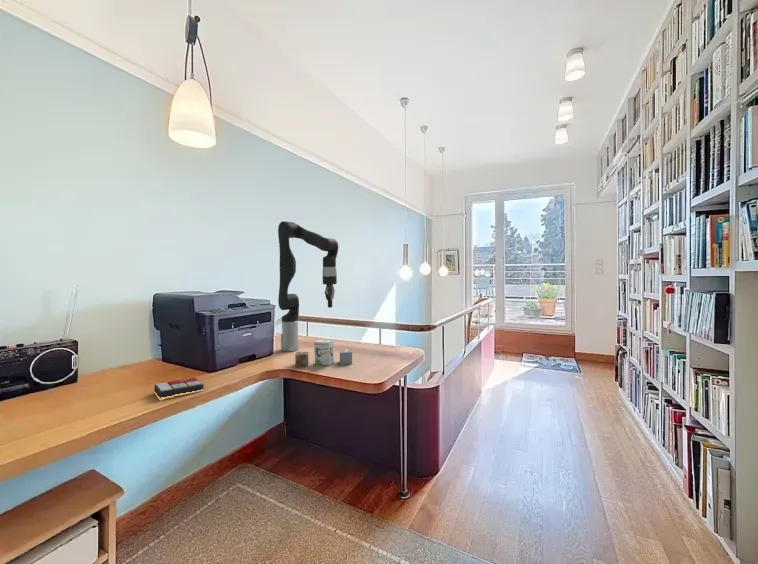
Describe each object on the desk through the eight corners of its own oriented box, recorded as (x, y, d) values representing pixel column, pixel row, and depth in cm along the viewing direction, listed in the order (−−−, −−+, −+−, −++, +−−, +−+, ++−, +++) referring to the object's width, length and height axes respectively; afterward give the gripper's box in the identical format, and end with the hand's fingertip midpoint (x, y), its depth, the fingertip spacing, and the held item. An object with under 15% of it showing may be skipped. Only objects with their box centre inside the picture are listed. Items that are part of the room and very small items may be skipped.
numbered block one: (295, 367, 171) (295, 354, 171) (296, 363, 177) (296, 351, 177) (308, 366, 172) (307, 354, 172) (308, 363, 178) (308, 351, 177)
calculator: (203, 382, 139) (160, 389, 129) (203, 393, 139) (159, 401, 129) (196, 376, 147) (154, 382, 137) (195, 386, 147) (154, 393, 137)
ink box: (334, 363, 177) (333, 340, 177) (329, 365, 172) (329, 342, 172) (318, 361, 180) (318, 339, 179) (314, 364, 175) (313, 341, 174)
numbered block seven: (340, 364, 175) (340, 352, 174) (339, 361, 181) (339, 349, 180) (352, 364, 176) (352, 351, 175) (351, 360, 181) (351, 349, 181)
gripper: (325, 275, 195) (326, 306, 196) (319, 275, 182) (320, 308, 183) (339, 275, 194) (339, 306, 195) (333, 275, 181) (334, 308, 182)
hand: (330, 307), depth 189 cm, fingers closed
